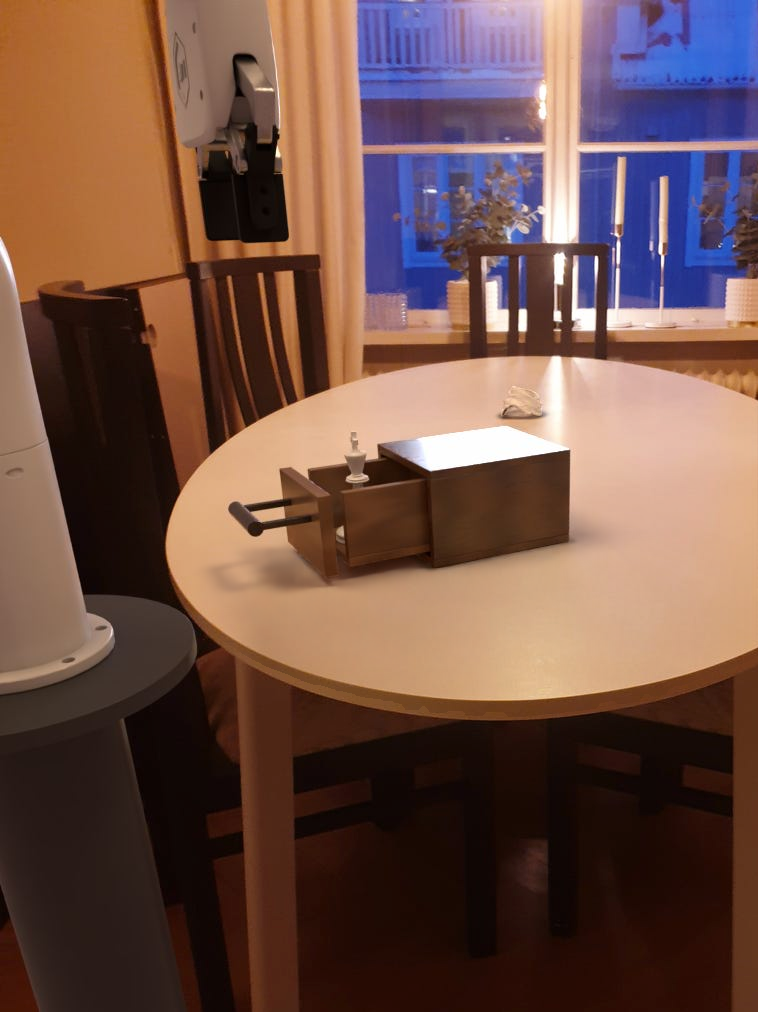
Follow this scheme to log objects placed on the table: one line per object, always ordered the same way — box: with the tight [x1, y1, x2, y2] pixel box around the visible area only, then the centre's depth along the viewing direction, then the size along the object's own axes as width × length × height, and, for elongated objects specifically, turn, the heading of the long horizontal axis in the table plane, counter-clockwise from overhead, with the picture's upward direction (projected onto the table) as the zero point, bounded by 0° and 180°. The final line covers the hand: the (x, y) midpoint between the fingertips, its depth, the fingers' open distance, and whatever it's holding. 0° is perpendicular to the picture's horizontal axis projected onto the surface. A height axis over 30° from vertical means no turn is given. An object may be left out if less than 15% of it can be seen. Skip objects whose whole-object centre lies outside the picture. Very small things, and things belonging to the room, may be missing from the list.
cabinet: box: [376, 425, 571, 569], centre depth 92 cm, size 15×13×9 cm
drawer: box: [227, 457, 430, 578], centre depth 86 cm, size 19×11×7 cm, turn 117°
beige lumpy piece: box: [500, 385, 544, 417], centre depth 147 cm, size 8×7×5 cm
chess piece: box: [336, 430, 369, 544], centre depth 86 cm, size 5×5×10 cm
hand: (245, 241), depth 65 cm, fingers open, 9 cm apart
